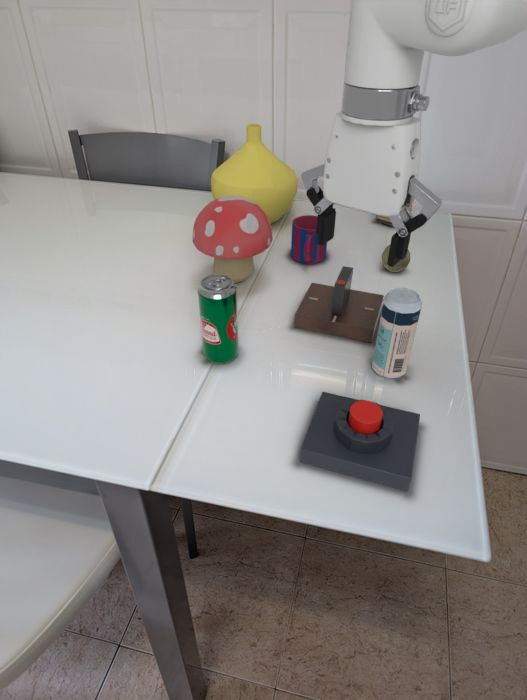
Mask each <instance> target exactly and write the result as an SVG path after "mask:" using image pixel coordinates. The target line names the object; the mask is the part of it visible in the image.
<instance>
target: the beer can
mask: <svg viewBox="0 0 527 700" xmlns="http://www.w3.org/2000/svg"><path fill="white" fill-rule="evenodd" d="M422 307H423V302H422V300H421V296H420V294H419V293H418V292H416V291H415V290H413V289H410V288H406V287H394V288H392V289H391V290H389V291H388V292H387V293H386V294H385V295H384V298H383V303H382V309H381V312H380V319H379V323H378V324H379V325H378V330H377V336H376V341H375V347H374V353H373V358H372V361H371V368H372V370H373V371H374V372H375V373H376V374H377V375H379V376H381V377H384V378H387V379H397V378H400V377H403V376H404V375H405V374H406V373H407V370H408V365H409V361H410V356H411V353H412V349H413V345H414V340H415V336H416V332H417V329H418V328H417V327H418V324H419V319H420V316H421V315H420V314H421V310H422Z"/></svg>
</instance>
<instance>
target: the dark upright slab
mask: <svg viewBox="0 0 527 700" xmlns="http://www.w3.org/2000/svg"><path fill="white" fill-rule="evenodd" d="M353 273H354V267H352V266H344V265H342V268H341V269H340V271H339V274H338V275H337V278H336V280H335V282H334V285H333V286H334V293H333V302H332V312H331V313H334V314H339V315H342V313H343V310H344V308H345V305H346V303H347V301H348V298H349V296H350V289H351V290H352V288H351V287H352V282H353Z"/></svg>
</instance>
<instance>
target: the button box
mask: <svg viewBox="0 0 527 700" xmlns="http://www.w3.org/2000/svg"><path fill="white" fill-rule="evenodd" d="M362 400H363V399H357V398H353V397H350V396H349V397H348V396H344V395H339V394H336V393H331V392H327V391H322V392H321V394H320V397H319V399H318V402H317V404H316V408H315V410H314V413H313V416H312V418H311V421H310V424H309V426H308V429H307V432H306V435H305V437H304V439H303V442H302V445H301V448H300V456H299V462H300V463H302V464H306V465H308V466H314V467H316V468H321V469H324V470H328V471H332V472H334V473H335V472H336V473H339V474H343V475H345V476H350V477H354V478H357V479H361V480H364V481H368V482H371V483H375V484H379V485H381V486H386V487H390V488H393V489H398V490H401V491H404V492H409V488H410V485H411V483H412V482H411V481H412V477H413V470H414V463H415V456H416V455H415V454H416V449H417V440H418V434H419V433H418V432H419V426H420V418H421V413H418V412H417V413H416V412H413V411H408V410H405V409H399V408H397V407H396V408H395V407H391V406H388V405H383V404H379V403H378V402H374V401H373V402H374V403H375V404H377V405H378V406H379V407H380V408H381V409H382V412H383V416H382V421H381V426H380V428H379V430H378V431H377V432H375V433H372V434H363V433H359V432H356V431H355V430H353V429H352V428H351V427H350V425H349V422H348V419H349V413H350V408H351V406H352V405H353V404H354V403H355V402H357V401H362Z"/></svg>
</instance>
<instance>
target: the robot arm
mask: <svg viewBox="0 0 527 700" xmlns="http://www.w3.org/2000/svg"><path fill="white" fill-rule="evenodd" d="M525 30H527V0H350V8H349V17H348V29H347V41H346V42H347V44H346V53H345V63H344V76H343V88H342V98H341V99H342V100H341V110H340V111H338V112H336V113H335V117H334V120H333V124H332V127H331V131H330V133H329V139H328V144H327V149H326V154H325V159H324V160H325V161H324V163H322V164H319V165H316V166H313V167H312V168H309V169H307V170H305V171H302V173H301V174H300V178H301V181H302V184H303V186H304V188H305V190H306V193H305V194H306V197H307V198H308V200H309V202H310V203H311V204H312V206H313V212H314V214H316V216H317V230H316V234H317V235H318V241H317V244H318V245H321V246H322V245H324V244H326V243H327V244H328V242H330V241H331V240H333V239H334V237H335V230H336V229H335V228H336V217H337V211H336V208H335V207H334V205H337V206H340V207H343V208H348V209H351V210H356V211H359V212H363V213H368V214H371V215H375V216H376V215H379V216H384V217H389V219H390V221H391V223H392V224H393V226H392V227H393V228H394V230H395V233H394V234H393V235H392V236H391V238H390V244H389V245H390V250H389V256H388V262H387V265H388V266H390V267H394V266H395V265H396V264H397V263H398V262H399V261H400V260H401V259H402V260H403V259H404V258H405V257H406V255H407V251H408V250H409V247H410V241H411V235H412V233H413V232H415V231H416V230H418V229H420V228H421V227H423V226H424V225H426V223H427V222H428V221H429V220H430V219H431V218H432V217H433V216H434V215H435V213H436V212H437V211H438V210H439V209H440V208H441V206H442V205H443V200H442V199H441V198H440V197H438V196H437V195H436V194H435V193H434V192H432V191H431V189H429V188H428V187H427V186H426V185H424V184H423V183H422V182H421V181H419V173H420V171H419V170H420V161H421V147H422V146H421V144H422V143H421V142H422V122H421V121H422V119H421V118H419V117H415V116H414V115H415V114H416V113H417V112H419V111H421V112H426V111H428V108H429V105H430V96H429V95H423V93H421V85H419V83H420V77H421V72H422V66H423V62H424V61H423V60H424V56H425V52H427V53H431V54H435V55H437V56H438V55H439V56H443V57H460V56H461V57H462V56H466V55H469V54H472V53H475V52H478V51H481V50H483V49H486V48H489V47H493V46H497V45H499V44H502V43H504V42H506V41H508V40H510V39H512V38H514V37H515V36H516V37H517V36H518V35H519V34H520V33H523V32H524V31H525ZM321 177H322V188H321V186H319V182H318V179H319V178H321ZM415 200H416V201H417V202H418V203H419V204H420V205H421V206H422V209H421V210H420V212H419V213H418V214H416V215H415V216H414V215H413V213H412V211H411V212H410V210H409V208H408V206H410V205H411V204H412V205H413V204H414V202H415Z"/></svg>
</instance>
